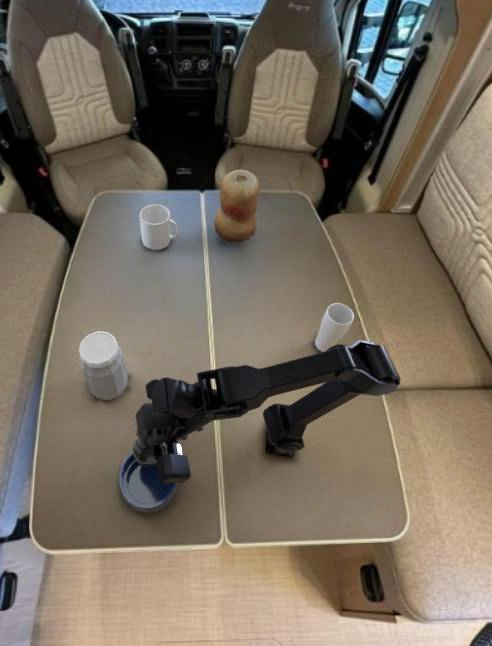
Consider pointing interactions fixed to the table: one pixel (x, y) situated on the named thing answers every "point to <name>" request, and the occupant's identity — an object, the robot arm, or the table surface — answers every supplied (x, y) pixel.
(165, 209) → the mug
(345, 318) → the drinking glass
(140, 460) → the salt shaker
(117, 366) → the jar
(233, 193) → the butternut squash
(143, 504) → the bowl
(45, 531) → the table surface
